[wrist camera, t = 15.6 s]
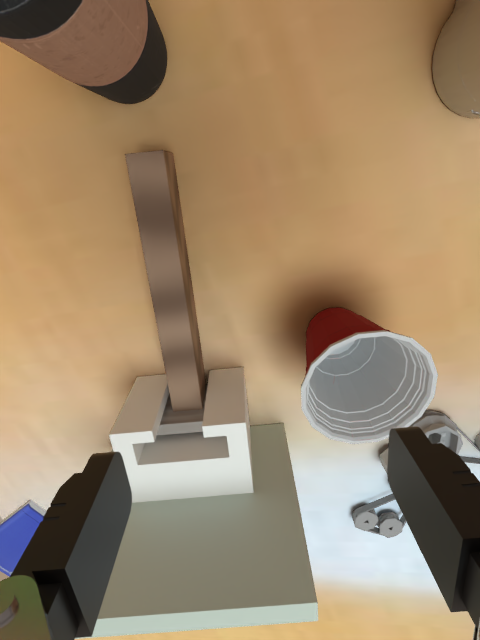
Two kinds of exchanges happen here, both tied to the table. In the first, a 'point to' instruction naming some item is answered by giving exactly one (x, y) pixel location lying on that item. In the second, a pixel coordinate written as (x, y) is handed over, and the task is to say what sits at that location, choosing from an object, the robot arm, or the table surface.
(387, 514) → the pulley system
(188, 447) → the grey upright panel
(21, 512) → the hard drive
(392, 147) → the table surface
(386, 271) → the table surface
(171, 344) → the post on square base
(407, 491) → the robot arm
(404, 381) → the plastic cup
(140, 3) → the travel mug
